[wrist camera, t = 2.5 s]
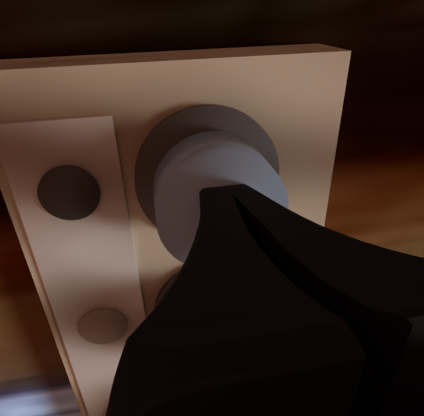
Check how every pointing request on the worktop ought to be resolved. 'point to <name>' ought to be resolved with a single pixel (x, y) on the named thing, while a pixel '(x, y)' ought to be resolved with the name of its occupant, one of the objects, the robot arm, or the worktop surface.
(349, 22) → the worktop surface
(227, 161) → the button
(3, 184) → the button board
